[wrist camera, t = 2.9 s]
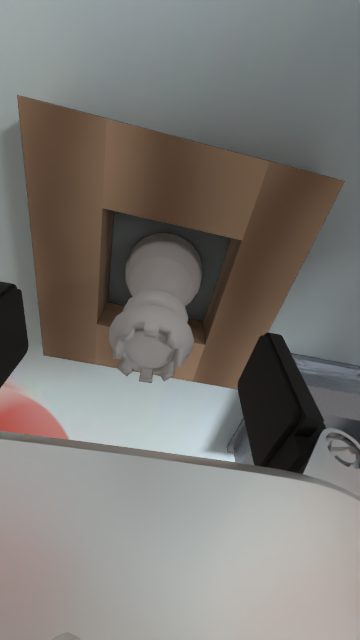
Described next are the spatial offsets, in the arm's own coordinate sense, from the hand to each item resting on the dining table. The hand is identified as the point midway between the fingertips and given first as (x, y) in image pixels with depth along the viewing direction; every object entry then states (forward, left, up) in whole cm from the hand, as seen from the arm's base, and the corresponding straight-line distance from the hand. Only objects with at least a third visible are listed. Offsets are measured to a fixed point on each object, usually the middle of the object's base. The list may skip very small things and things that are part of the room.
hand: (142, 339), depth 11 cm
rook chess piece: (0, 0, -7) cm, 7 cm away
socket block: (0, 0, -7) cm, 7 cm away
